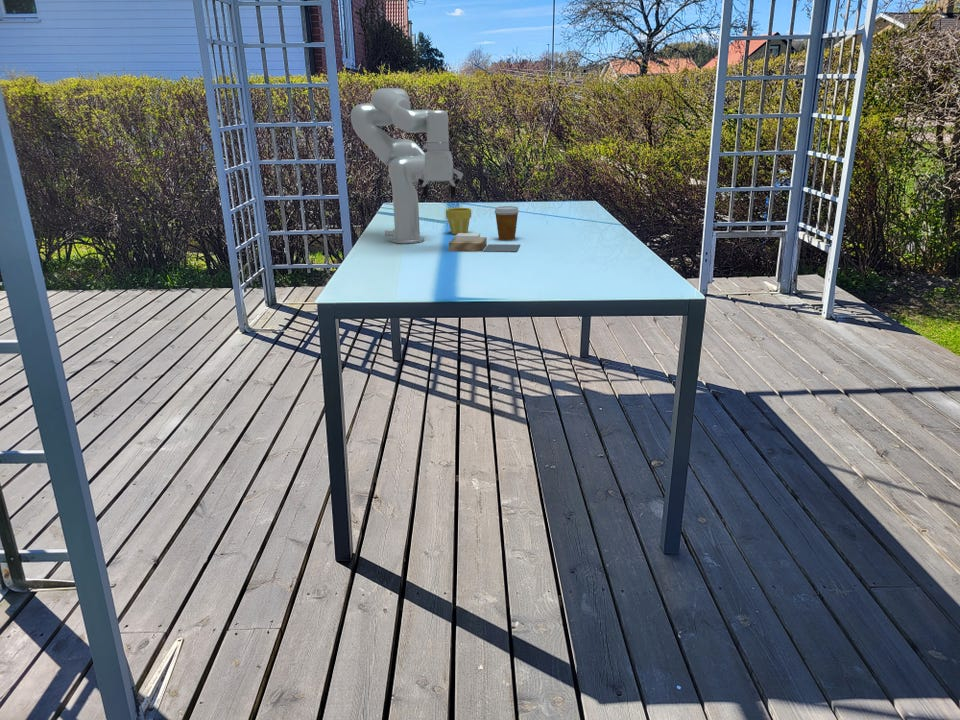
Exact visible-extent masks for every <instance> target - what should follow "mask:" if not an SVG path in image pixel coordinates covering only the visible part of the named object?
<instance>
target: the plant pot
mask: <svg viewBox="0 0 960 720" xmlns="http://www.w3.org/2000/svg"><path fill="white" fill-rule="evenodd" d="M445 216H446V219H447V221H448V225H449V229H450V232H451V234H452V235H457V234H458V233H469V227H470V220H471V219H470V218H472V208H470V207H469V208H468V207H452V208H451V207H450V208H447V209H445Z"/></svg>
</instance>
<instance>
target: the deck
mask: <svg viewBox="0 0 960 720" xmlns="http://www.w3.org/2000/svg"><path fill="white" fill-rule="evenodd" d="M487 239H488V237H484V236H483V237H482V236H480V239H479V241H478V242H458V241H456V236H454V237H453V238H452V239H451V240H450V241H449V242H448V252H475V253H477V251H482V252H483V251H484V249H485V248H486V247H487V244H488V243H487V242H488V240H487Z"/></svg>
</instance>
